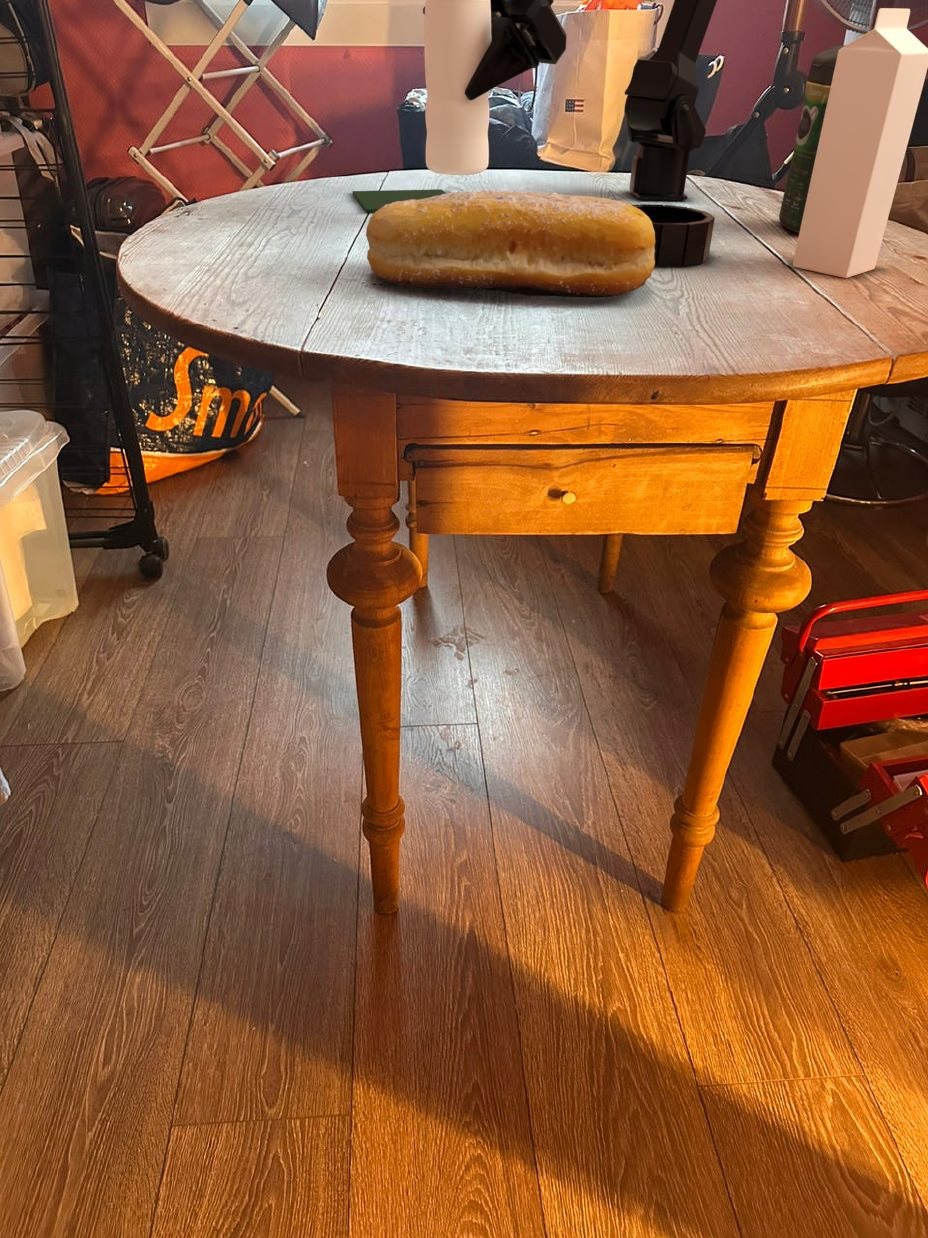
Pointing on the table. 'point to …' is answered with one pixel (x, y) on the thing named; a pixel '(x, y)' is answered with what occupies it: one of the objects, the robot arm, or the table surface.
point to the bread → (513, 243)
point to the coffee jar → (808, 138)
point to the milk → (862, 147)
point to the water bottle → (455, 85)
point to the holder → (679, 234)
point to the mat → (390, 197)
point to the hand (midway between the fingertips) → (447, 93)
